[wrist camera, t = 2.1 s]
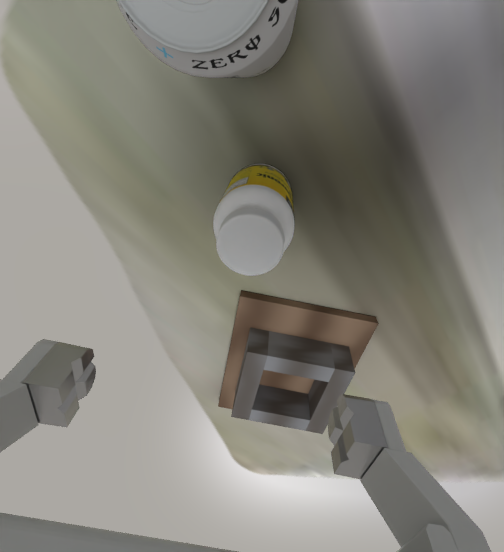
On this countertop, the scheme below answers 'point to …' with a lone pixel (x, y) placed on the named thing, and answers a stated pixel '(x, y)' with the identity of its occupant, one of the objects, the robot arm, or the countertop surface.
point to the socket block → (291, 360)
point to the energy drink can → (213, 33)
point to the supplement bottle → (254, 220)
